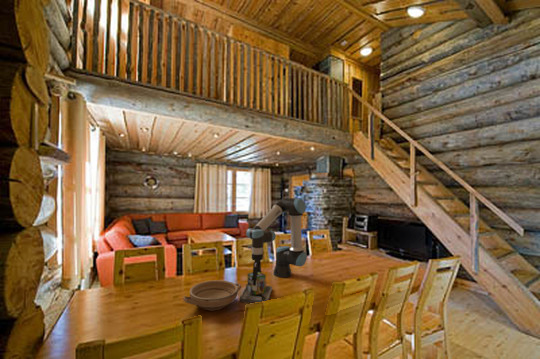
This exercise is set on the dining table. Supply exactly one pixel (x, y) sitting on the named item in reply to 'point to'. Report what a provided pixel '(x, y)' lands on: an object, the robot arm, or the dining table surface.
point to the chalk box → (260, 283)
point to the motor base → (248, 297)
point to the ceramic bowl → (213, 294)
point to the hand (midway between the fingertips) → (256, 286)
